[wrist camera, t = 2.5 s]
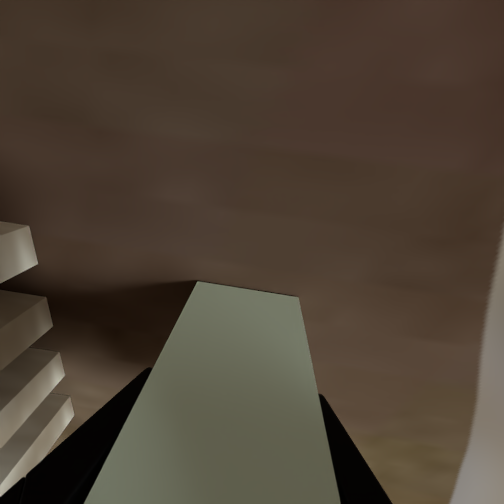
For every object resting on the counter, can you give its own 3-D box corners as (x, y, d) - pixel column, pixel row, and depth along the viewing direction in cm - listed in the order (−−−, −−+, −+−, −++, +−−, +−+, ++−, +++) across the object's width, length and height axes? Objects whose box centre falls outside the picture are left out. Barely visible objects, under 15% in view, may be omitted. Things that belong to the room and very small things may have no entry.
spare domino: (289, 328, 13) (347, 800, 4) (195, 313, 13) (9, 752, 4) (298, 297, 12) (402, 803, 3) (197, 281, 12) (-38, 741, 3)
